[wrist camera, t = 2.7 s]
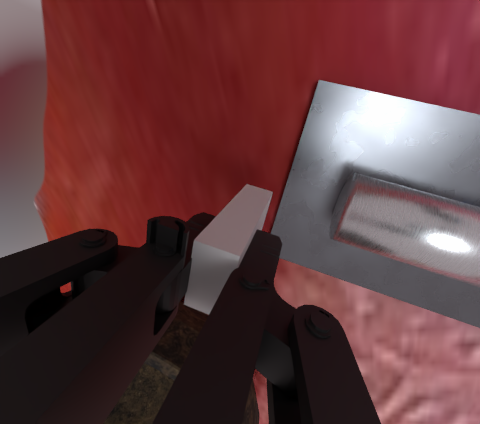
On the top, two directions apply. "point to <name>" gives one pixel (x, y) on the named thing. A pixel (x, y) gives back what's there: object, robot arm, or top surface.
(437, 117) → the plate
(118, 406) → the bowl
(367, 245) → the tube
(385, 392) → the top surface
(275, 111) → the top surface
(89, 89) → the top surface
